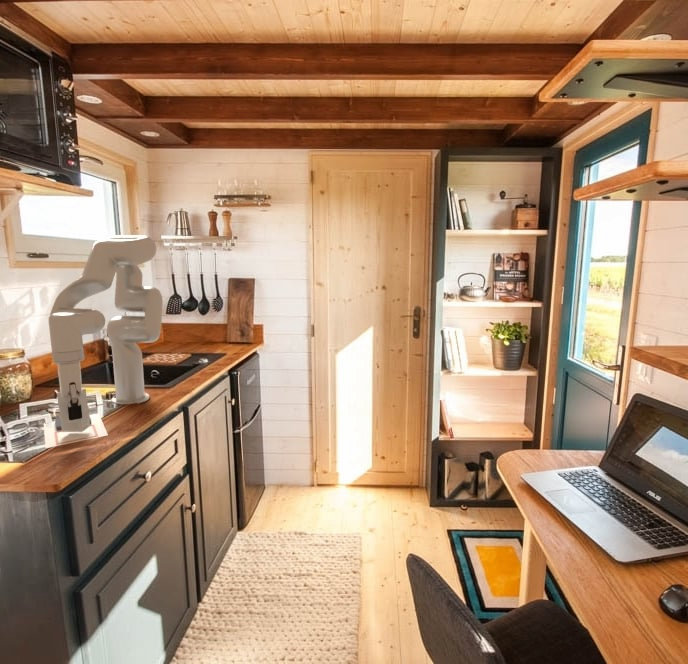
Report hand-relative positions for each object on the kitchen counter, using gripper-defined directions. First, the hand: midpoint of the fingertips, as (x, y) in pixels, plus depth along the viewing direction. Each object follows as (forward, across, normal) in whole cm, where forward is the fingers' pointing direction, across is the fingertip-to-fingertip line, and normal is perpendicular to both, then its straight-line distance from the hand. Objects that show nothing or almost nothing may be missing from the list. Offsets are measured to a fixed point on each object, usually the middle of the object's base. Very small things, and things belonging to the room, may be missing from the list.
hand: (74, 414), depth 121 cm
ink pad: (+6, -10, 0) cm, 12 cm away
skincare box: (+5, 0, 0) cm, 5 cm away
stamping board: (+7, -4, 0) cm, 8 cm away
